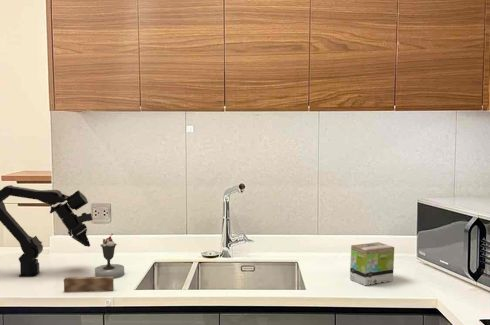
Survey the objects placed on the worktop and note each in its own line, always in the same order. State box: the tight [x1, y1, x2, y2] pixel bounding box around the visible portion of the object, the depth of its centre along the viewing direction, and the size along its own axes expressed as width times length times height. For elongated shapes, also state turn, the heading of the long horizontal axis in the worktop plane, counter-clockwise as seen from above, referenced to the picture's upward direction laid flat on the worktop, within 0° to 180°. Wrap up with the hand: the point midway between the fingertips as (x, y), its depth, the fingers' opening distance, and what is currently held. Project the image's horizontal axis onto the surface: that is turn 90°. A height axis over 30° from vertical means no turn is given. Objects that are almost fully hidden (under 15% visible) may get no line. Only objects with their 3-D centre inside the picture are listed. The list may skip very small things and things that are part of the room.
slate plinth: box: [94, 263, 125, 280], centre depth 202 cm, size 12×12×3 cm
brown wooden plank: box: [63, 276, 115, 293], centre depth 182 cm, size 18×2×5 cm, turn 95°
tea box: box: [349, 241, 395, 286], centre depth 196 cm, size 15×10×15 cm, turn 117°
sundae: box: [100, 233, 118, 270], centre depth 202 cm, size 7×7×15 cm
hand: (88, 246), depth 205 cm, fingers open, 9 cm apart
